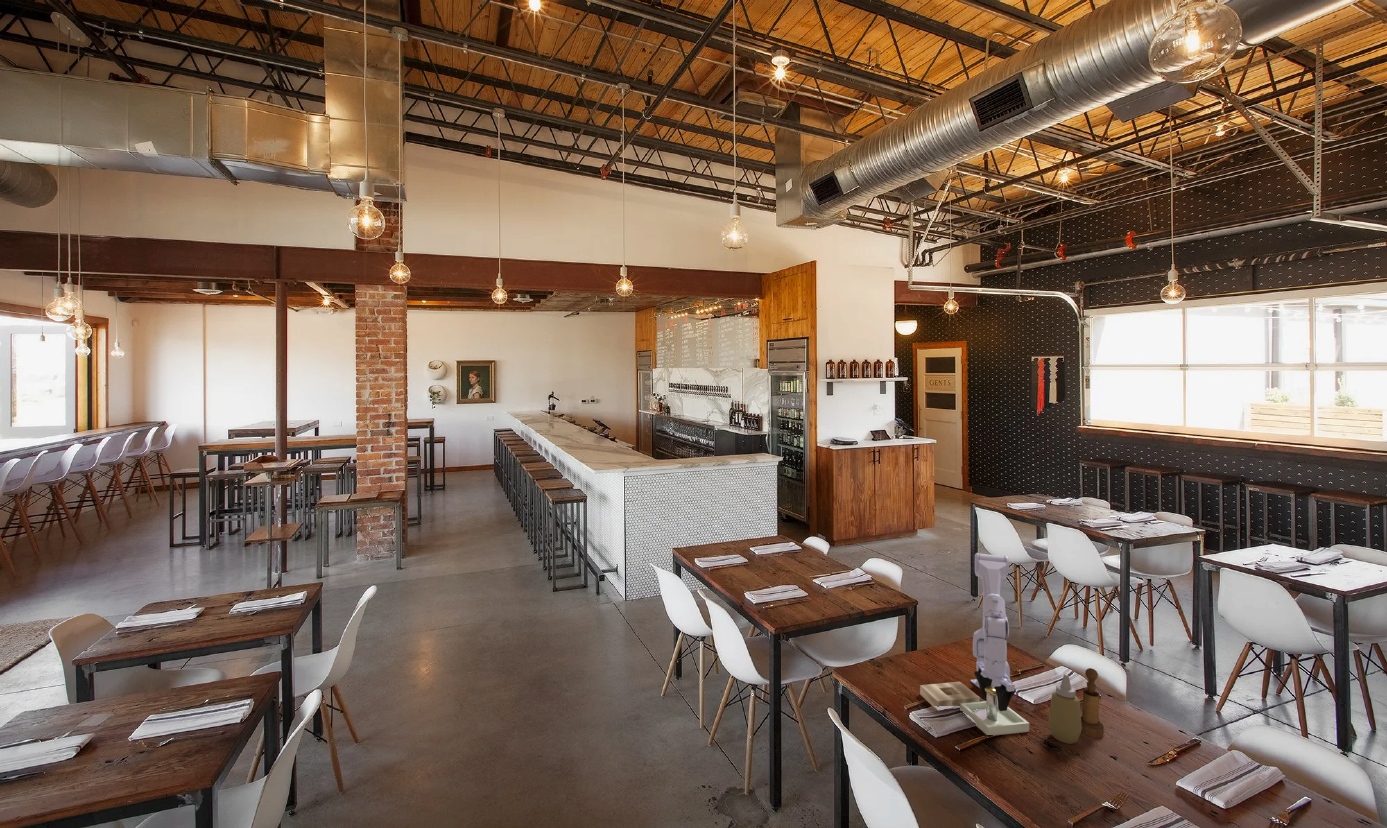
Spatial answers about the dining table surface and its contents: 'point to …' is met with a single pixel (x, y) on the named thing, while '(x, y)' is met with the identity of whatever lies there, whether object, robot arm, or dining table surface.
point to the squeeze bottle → (1065, 713)
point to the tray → (1004, 724)
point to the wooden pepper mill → (1091, 707)
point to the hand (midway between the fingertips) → (994, 703)
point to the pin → (991, 704)
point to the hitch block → (948, 694)
